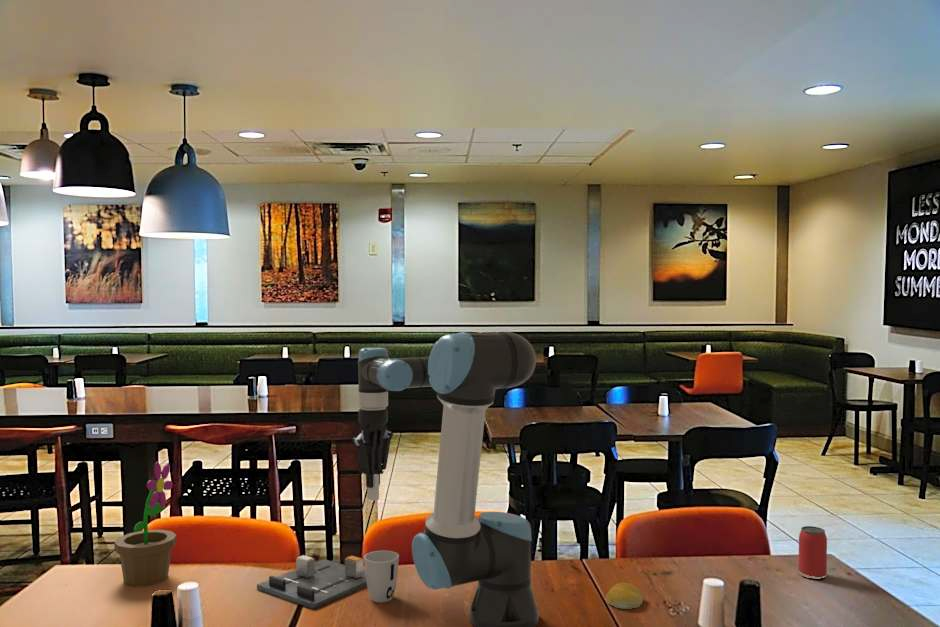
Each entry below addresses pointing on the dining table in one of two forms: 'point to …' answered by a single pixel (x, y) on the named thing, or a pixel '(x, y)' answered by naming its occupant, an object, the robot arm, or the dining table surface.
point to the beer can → (813, 551)
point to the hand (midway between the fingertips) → (373, 499)
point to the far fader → (305, 566)
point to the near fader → (354, 566)
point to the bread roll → (624, 596)
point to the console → (314, 585)
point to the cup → (381, 574)
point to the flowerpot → (148, 539)
